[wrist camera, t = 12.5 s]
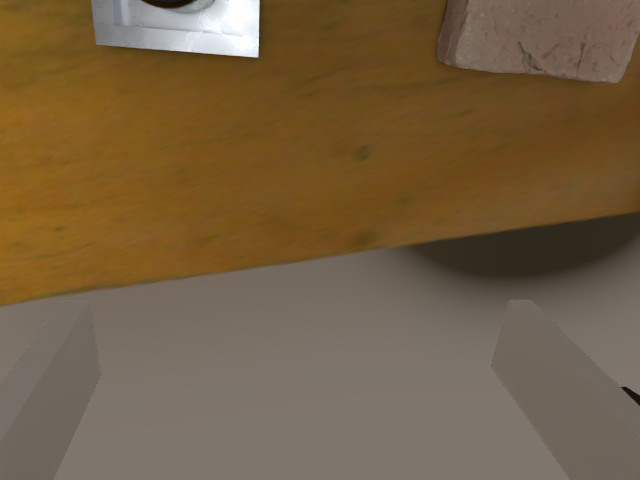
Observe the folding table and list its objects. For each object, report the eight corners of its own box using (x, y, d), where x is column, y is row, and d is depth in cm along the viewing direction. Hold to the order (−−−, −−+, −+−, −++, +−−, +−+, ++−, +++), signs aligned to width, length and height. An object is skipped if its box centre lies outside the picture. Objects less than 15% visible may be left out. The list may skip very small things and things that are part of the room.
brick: (433, 65, 42) (452, 69, 38) (451, -38, 39) (475, -47, 35) (590, 80, 45) (625, 85, 41) (620, -16, 42) (662, -22, 37)
